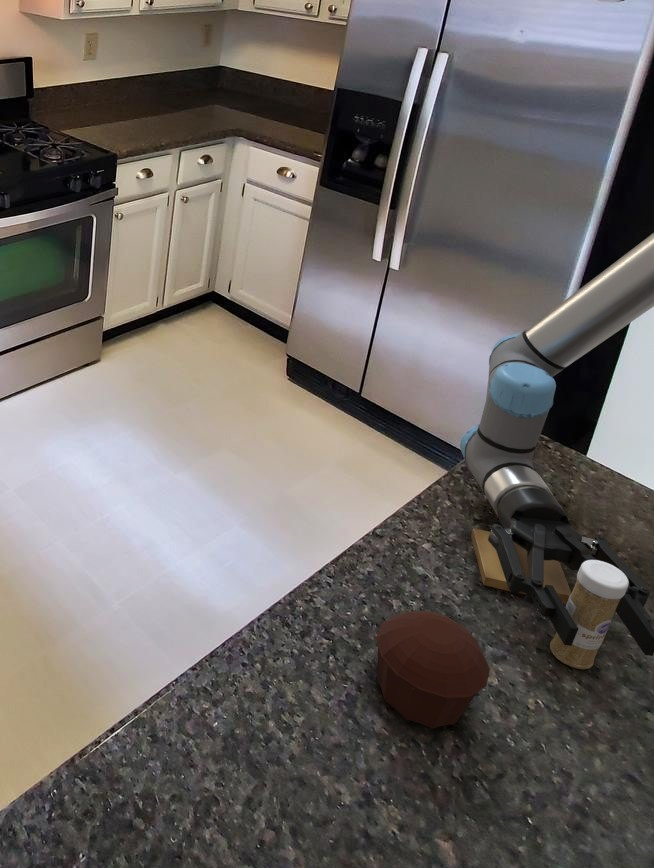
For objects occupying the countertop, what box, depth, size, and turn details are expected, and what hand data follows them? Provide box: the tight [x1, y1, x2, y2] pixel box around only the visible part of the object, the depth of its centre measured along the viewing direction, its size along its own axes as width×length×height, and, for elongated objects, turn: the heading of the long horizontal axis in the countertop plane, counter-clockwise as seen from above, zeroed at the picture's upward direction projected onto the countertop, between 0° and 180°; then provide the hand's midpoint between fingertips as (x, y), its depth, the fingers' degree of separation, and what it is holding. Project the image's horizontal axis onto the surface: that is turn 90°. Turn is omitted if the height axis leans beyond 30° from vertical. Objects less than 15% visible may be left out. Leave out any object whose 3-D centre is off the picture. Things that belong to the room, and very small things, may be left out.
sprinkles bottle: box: [549, 560, 629, 670], centre depth 94 cm, size 5×5×13 cm
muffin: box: [375, 610, 491, 729], centre depth 91 cm, size 12×11×10 cm
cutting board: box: [470, 527, 572, 605], centre depth 110 cm, size 10×10×2 cm
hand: (611, 641), depth 90 cm, fingers open, 8 cm apart
